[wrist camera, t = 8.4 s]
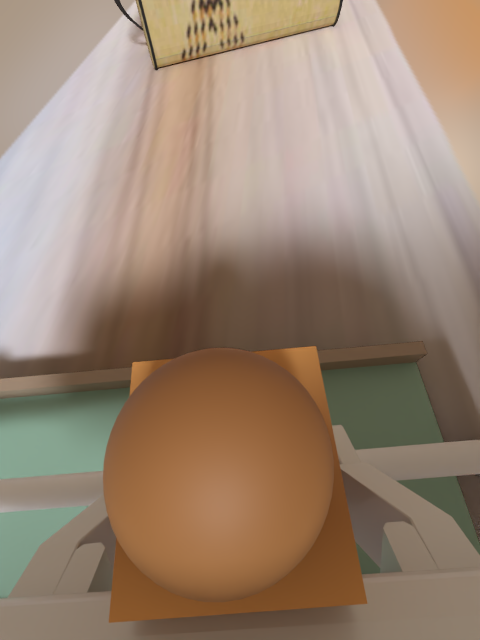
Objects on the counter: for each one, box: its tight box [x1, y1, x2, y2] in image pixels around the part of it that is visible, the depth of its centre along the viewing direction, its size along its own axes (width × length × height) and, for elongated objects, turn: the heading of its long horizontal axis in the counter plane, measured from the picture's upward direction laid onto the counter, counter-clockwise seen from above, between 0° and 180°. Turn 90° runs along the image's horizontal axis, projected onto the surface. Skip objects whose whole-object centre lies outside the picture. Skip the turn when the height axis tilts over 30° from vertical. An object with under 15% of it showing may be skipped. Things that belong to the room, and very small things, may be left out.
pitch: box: [0, 341, 480, 598], centre depth 15 cm, size 13×38×8 cm, turn 94°
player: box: [103, 346, 368, 623], centre depth 10 cm, size 4×3×16 cm
